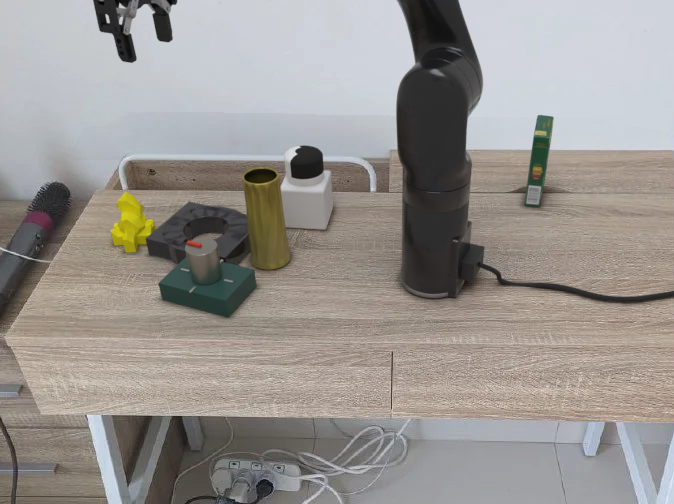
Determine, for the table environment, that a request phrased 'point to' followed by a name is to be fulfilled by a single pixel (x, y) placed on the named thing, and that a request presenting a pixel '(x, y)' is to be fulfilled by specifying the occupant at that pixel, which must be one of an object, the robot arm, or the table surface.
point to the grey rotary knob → (203, 261)
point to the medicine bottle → (306, 189)
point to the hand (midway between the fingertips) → (147, 50)
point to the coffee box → (539, 160)
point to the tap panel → (209, 288)
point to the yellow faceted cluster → (131, 224)
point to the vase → (265, 218)
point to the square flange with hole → (201, 232)
